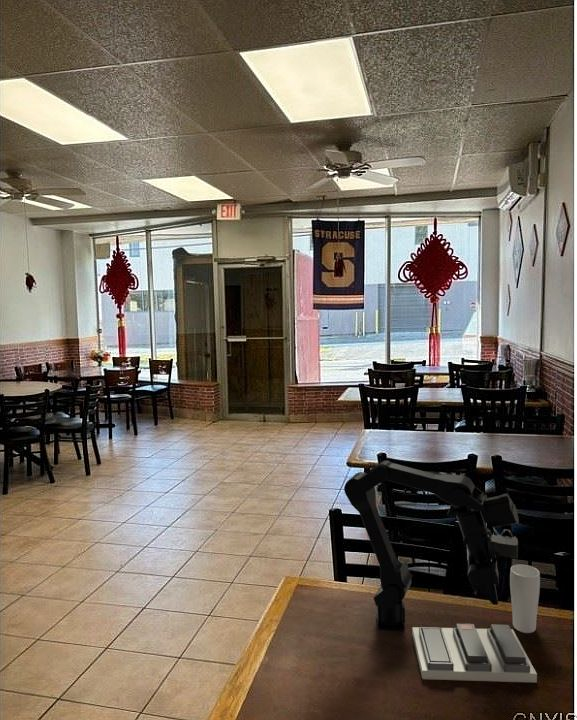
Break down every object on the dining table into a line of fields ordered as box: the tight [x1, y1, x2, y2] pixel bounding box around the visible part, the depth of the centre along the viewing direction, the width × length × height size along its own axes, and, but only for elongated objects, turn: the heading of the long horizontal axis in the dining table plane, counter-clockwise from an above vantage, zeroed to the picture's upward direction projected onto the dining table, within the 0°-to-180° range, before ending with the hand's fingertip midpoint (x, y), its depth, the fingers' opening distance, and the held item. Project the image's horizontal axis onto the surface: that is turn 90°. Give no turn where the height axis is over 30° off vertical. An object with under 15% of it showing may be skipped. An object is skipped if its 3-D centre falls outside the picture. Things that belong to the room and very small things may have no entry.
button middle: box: [455, 623, 487, 663], centre depth 124 cm, size 4×12×2 cm, turn 175°
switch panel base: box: [411, 626, 538, 683], centre depth 125 cm, size 24×16×4 cm, turn 85°
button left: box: [422, 628, 450, 663], centre depth 125 cm, size 4×12×2 cm, turn 175°
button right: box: [490, 624, 526, 664], centre depth 123 cm, size 4×12×2 cm, turn 175°
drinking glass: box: [509, 563, 541, 634], centre depth 135 cm, size 7×7×15 cm
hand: (496, 594), depth 127 cm, fingers open, 9 cm apart
